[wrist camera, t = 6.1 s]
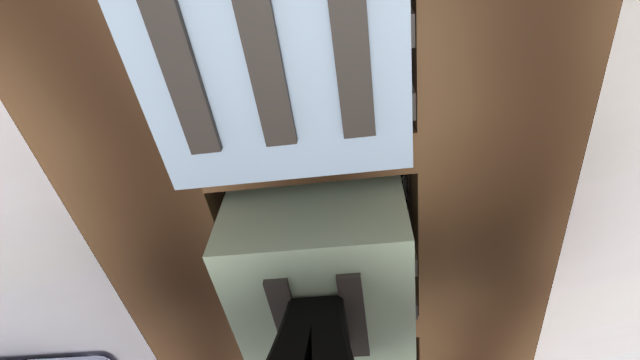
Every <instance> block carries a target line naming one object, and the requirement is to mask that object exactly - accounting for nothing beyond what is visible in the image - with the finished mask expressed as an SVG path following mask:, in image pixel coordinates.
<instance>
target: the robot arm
mask: <svg viewBox="0 0 640 360" xmlns="http://www.w3.org/2000/svg"><path fill="white" fill-rule="evenodd" d="M29 360H110V359H109V358H107V357H104V356H84V357H66V358H48V359H29ZM266 360H354V357H353V353H352V350H351V346H350V338H349V332H348V325H347V319H346V313H345V307H344V300H343V298H342V297H340V296H338V295H333V296H318V297H303V298H292V299H291V300H290V301H289V302H288V304H287V307H286V310H285V313H284V316H283V319H282V322H281V324H280V327H279V330H278V332H277V335H276V337H275V340H274V342H273V345H272V347H271V349H270V352H269V354H268V356H267V358H266Z"/></svg>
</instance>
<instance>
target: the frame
mask: <svg viewBox="0 0 640 360" xmlns="http://www.w3.org/2000/svg"><path fill="white" fill-rule="evenodd" d="M622 2H623V0H411V8H412V10H413V11H414V13H415V48H411V59H412V84H413V87H414V90H415V92H416V121H413V168H403V169H392V170H382V171H371V172H361V173H350V174H340V175H329V176H319V177H308V178H298V179H288V180H277V181H267V182H256V183H246V184H235V185H225V186H214V187H204V188H193V189H183V190H175V189H174V187H173V184H172V182H171V179H170V177H169V174H168V172H167V169H166V167H165V165H164V162H163V160H162V157H161V155H160V152H159V150H158V147H157V145H156V142H155V140H154V138H153V135H152V133H151V130H150V128H149V125H148V123H147V120H146V118H145V115H144V113H143V110H142V108H141V106H140V103H139V101H138V98H137V96H136V93H135V91H134V88H133V86H132V83H131V81H130V78H129V76H128V74H127V71H126V69H125V66H124V64H123V61H122V59H121V56H120V54H119V51H118V49H117V47H116V44H115V42H114V39H113V37H112V34H111V32H110V29H109V27H108V24H107V22H106V19H105V17H104V15H103V12H102V10H101V7H100V5H99V2H98V0H0V100H1V101H2V103H3V105H4V106H5V108H6V110H7V111H8V113H9V115H10V116H11V118H12V120H13V121H14V123H15V125H16V126H17V128H18V130H19V131H20V133H21V135H22V136H23V138H24V139H25V141H26V143H27V144H28V146H29V148H30V149H31V151H32V153H33V154H34V156H35V158H36V159H37V161H38V163H39V164H40V166H41V168H42V169H43V171H44V173H45V174H46V176H47V178H48V179H49V181H50V183H51V184H52V186H53V188H54V189H55V191H56V193H57V194H58V196H59V198H60V199H61V201H62V203H63V204H64V206H65V208H66V209H67V211H68V213H69V214H70V216H71V218H72V219H73V221H74V222H75V224H76V226H77V227H78V229H79V231H80V232H81V234H82V236H83V237H84V239H85V241H86V242H87V244H88V246H89V247H90V249H91V251H92V252H93V254H94V256H95V257H96V259H97V261H98V262H99V264H100V266H101V267H102V269H103V271H104V272H105V274H106V276H107V277H108V279H109V281H110V282H111V284H112V286H113V287H114V289H115V291H116V292H117V294H118V296H119V297H120V299H121V300H122V302H123V304H124V305H125V307H126V309H127V310H128V312H129V314H130V315H131V317H132V319H133V320H134V322H135V324H136V325H137V327H138V329H139V330H140V332H141V334H142V335H143V337H144V339H145V340H146V342H147V344H148V345H149V347H150V349H151V350H152V352H153V354H154V355H155V357H156V359H157V360H244V359H243V356H242V354H241V351H240V349H239V346H238V344H237V342H236V339H235V337H234V334H233V332H232V329H231V327H230V324H229V322H228V319H227V317H226V314H225V312H224V310H223V307H222V305H221V302H220V300H219V297H218V295H217V292H216V290H215V287H214V285H213V282H212V280H211V278H210V275H209V273H208V270H207V268H206V265H205V263H204V260H203V258H202V257H203V254H204V251H205V249H206V246H207V243H208V240H209V237H210V235H211V232H212V229H213V226H214V223H215V221H216V218H217V215H218V212H219V209H220V207H221V204H222V201H223V198H224V195H225V193H226V191H235V190H246V189H256V188H267V187H278V186H288V185H299V184H310V183H320V182H331V181H341V180H352V179H363V178H373V177H384V176H395V175H405V174H408V208H409V218H410V223H411V227H412V232H413V236H414V242H415V250H416V255H417V260H418V277H415V292H416V297H417V303H418V320H416V360H534V356H535V352H536V348H537V344H538V340H539V336H540V332H541V328H542V324H543V320H544V316H545V312H546V308H547V304H548V300H549V296H550V292H551V288H552V284H553V280H554V276H555V272H556V268H557V264H558V260H559V256H560V252H561V248H562V244H563V240H564V236H565V232H566V228H567V223H568V219H569V215H570V211H571V207H572V203H573V199H574V195H575V191H576V187H577V183H578V179H579V175H580V171H581V167H582V163H583V159H584V155H585V151H586V147H587V143H588V139H589V135H590V131H591V127H592V123H593V119H594V115H595V111H596V107H597V103H598V99H599V95H600V91H601V87H602V83H603V79H604V75H605V71H606V66H607V62H608V58H609V54H610V50H611V46H612V42H613V38H614V34H615V30H616V26H617V22H618V18H619V14H620V10H621V6H622Z"/></svg>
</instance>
